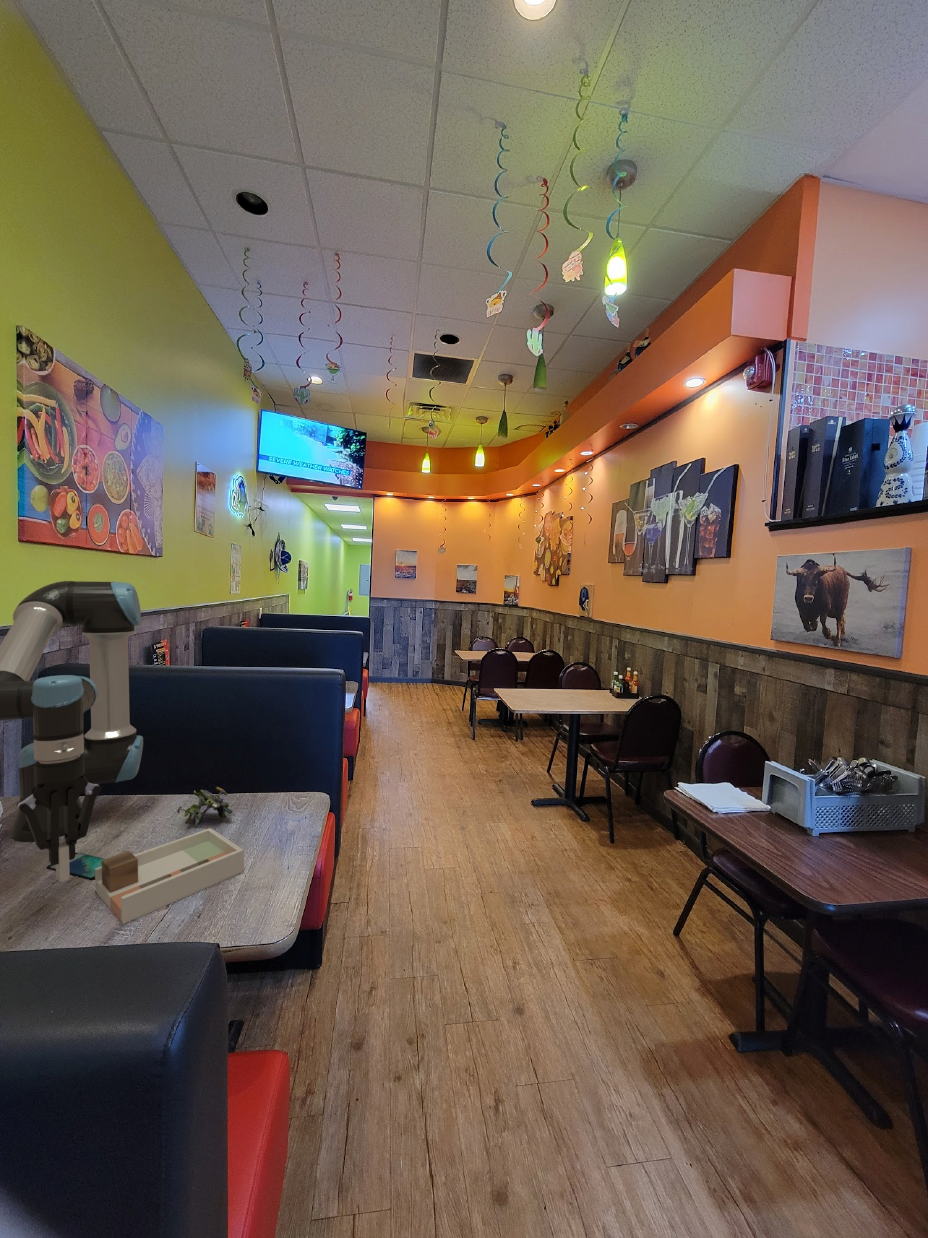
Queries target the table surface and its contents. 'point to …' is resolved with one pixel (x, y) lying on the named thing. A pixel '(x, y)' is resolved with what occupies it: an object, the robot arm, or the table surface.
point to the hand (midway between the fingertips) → (62, 878)
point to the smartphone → (82, 866)
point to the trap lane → (173, 873)
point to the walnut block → (119, 871)
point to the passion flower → (211, 801)
